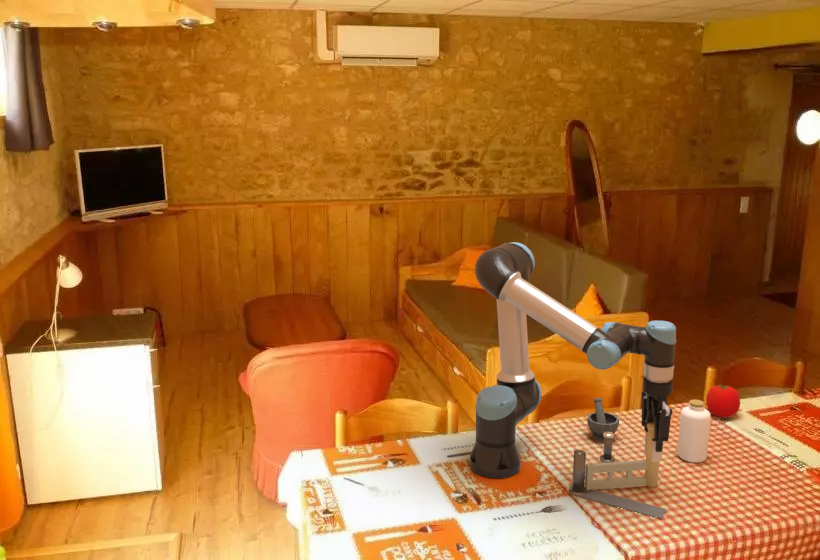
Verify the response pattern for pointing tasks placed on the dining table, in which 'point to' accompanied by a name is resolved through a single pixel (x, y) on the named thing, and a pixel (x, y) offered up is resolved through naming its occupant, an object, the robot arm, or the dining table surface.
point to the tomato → (723, 401)
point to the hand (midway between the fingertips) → (652, 457)
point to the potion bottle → (694, 432)
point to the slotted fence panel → (627, 466)
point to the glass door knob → (607, 448)
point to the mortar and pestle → (601, 421)
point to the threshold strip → (624, 503)
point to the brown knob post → (578, 474)
